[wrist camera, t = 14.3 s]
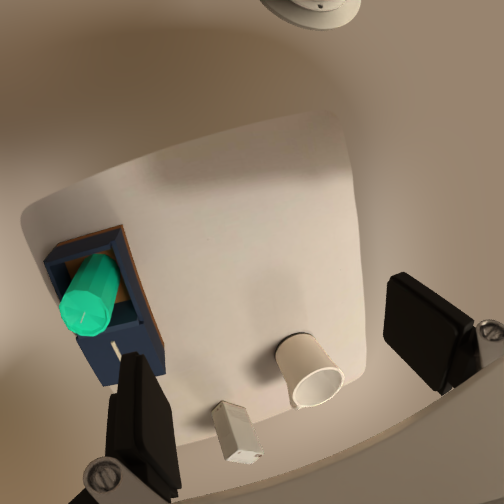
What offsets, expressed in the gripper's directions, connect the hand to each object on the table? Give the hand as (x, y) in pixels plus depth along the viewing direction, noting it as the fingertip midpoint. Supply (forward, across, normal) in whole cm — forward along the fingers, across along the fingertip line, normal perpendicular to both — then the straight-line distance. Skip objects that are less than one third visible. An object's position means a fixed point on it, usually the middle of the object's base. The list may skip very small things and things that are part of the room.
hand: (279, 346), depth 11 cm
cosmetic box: (+32, +4, +42) cm, 53 cm away
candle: (+31, +15, +7) cm, 35 cm away
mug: (+32, -10, +32) cm, 47 cm away
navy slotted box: (+32, +16, +12) cm, 38 cm away
